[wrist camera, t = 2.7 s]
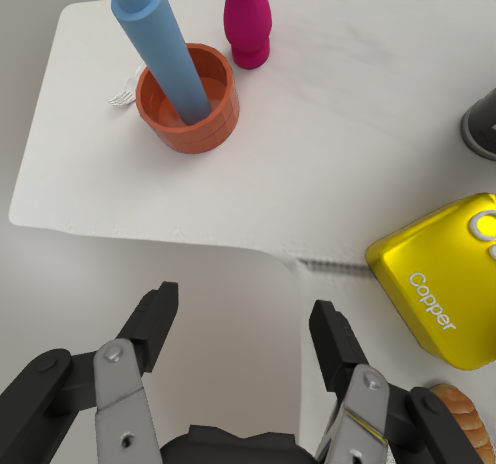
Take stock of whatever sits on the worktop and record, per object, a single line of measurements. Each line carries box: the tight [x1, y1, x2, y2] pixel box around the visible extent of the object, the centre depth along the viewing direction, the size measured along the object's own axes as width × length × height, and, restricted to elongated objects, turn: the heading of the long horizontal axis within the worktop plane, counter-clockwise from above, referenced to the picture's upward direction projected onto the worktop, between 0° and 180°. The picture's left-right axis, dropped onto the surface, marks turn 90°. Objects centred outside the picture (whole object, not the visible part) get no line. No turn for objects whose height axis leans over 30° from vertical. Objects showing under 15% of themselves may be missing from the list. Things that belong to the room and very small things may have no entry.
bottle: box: [111, 0, 211, 125], centre depth 26 cm, size 5×5×18 cm
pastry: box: [429, 384, 495, 464], centre depth 22 cm, size 9×7×4 cm
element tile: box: [366, 193, 496, 370], centre depth 24 cm, size 15×15×5 cm
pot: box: [135, 43, 239, 154], centre depth 33 cm, size 15×15×6 cm
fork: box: [107, 61, 147, 107], centre depth 37 cm, size 3×20×2 cm, turn 151°
